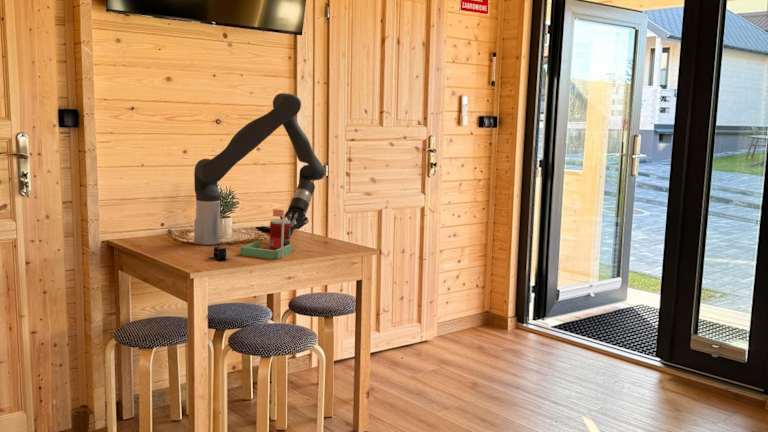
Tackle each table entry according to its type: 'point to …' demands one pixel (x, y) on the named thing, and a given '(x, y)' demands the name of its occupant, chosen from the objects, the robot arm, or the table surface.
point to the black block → (219, 254)
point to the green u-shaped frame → (256, 250)
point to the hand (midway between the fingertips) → (287, 235)
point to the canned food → (279, 233)
